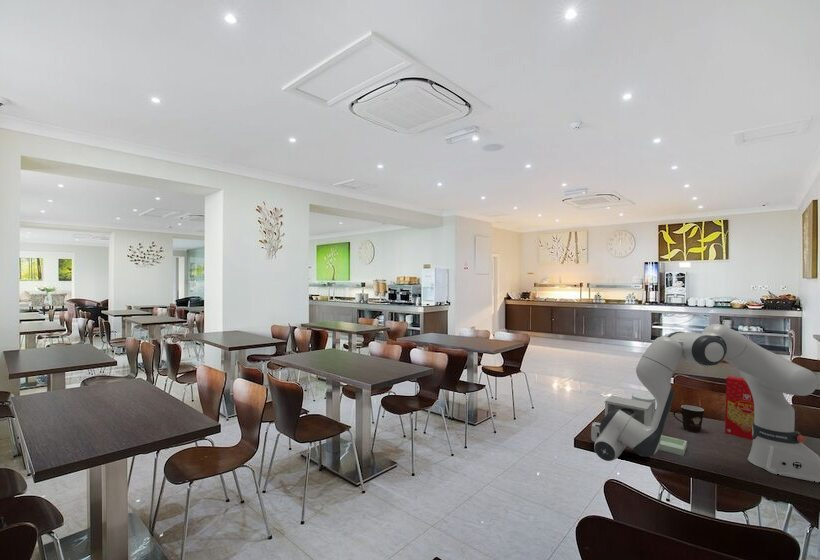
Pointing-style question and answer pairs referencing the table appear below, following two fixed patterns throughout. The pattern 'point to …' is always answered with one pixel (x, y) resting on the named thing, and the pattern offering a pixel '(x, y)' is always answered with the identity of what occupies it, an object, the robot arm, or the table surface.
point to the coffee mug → (691, 418)
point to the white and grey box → (629, 412)
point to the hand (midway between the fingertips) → (623, 428)
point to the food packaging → (739, 408)
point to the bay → (639, 407)
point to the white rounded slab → (645, 400)
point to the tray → (673, 445)
